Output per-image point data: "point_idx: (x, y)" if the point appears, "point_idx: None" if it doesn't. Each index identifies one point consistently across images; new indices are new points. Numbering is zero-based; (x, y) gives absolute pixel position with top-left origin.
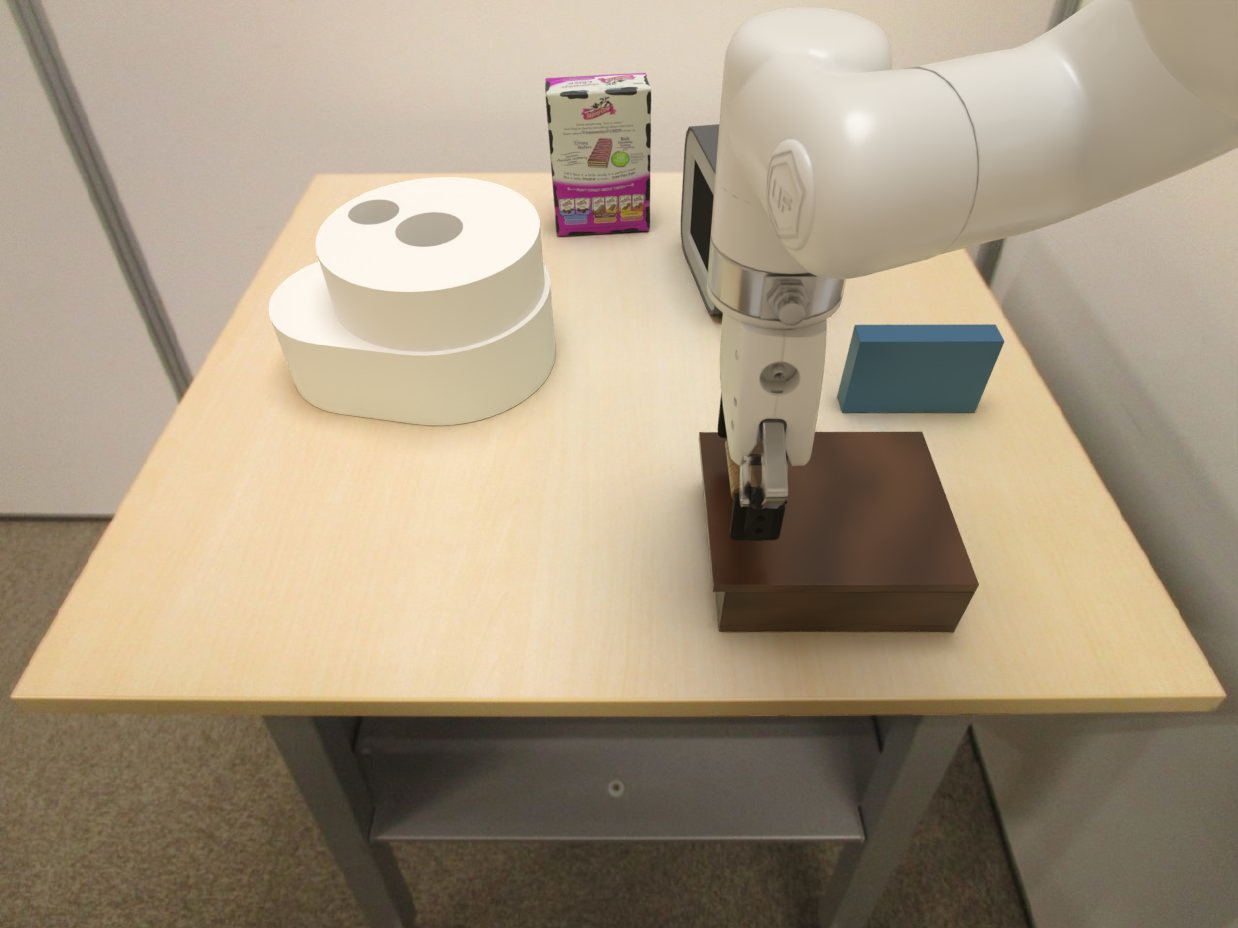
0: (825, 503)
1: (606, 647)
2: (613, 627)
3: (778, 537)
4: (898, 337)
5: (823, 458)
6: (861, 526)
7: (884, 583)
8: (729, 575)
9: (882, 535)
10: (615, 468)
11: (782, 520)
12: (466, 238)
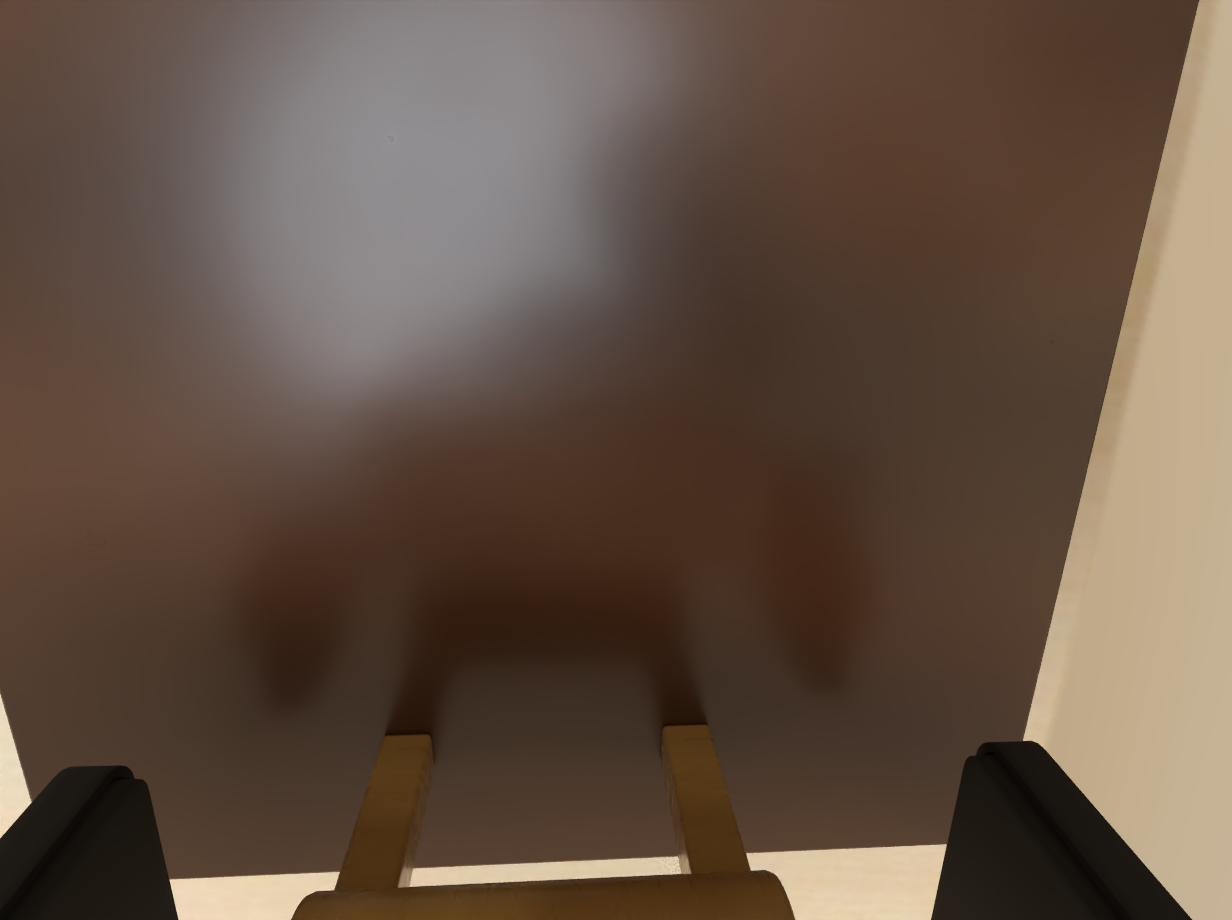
0: (557, 304)
1: (877, 880)
2: (819, 869)
3: (1034, 744)
4: None
5: (151, 244)
6: (755, 115)
7: (1177, 79)
8: None
9: None
10: (192, 898)
11: (1145, 869)
12: None
